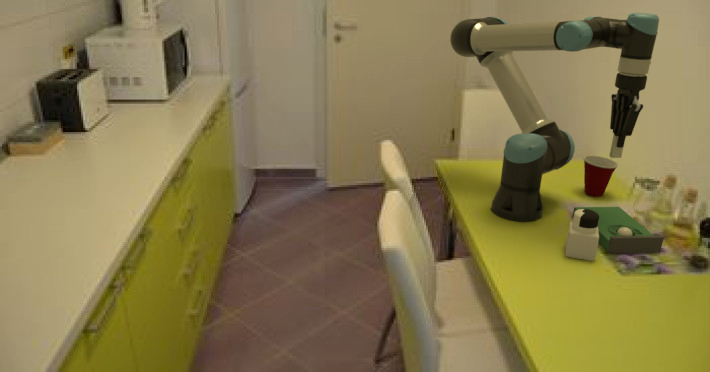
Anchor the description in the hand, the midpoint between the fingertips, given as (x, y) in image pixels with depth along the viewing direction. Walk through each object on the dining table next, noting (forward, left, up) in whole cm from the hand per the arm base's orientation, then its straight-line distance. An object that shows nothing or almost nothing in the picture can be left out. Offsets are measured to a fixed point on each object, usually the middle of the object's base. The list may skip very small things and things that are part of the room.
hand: (615, 156), depth 162 cm
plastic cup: (+8, +21, -21) cm, 31 cm away
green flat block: (0, -7, -21) cm, 22 cm away
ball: (0, -12, -18) cm, 22 cm away
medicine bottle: (-15, -18, -21) cm, 31 cm away
